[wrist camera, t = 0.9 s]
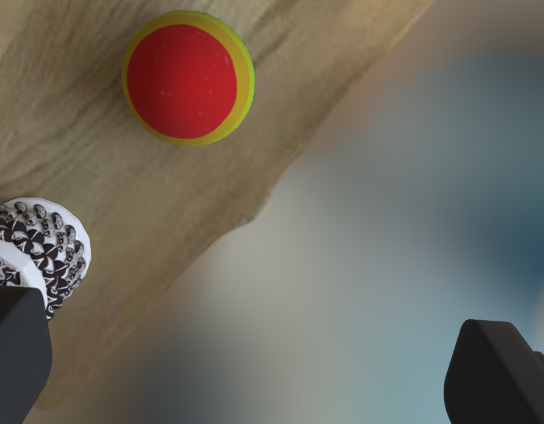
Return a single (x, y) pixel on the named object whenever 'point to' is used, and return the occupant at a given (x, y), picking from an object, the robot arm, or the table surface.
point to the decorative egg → (188, 78)
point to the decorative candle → (42, 249)
